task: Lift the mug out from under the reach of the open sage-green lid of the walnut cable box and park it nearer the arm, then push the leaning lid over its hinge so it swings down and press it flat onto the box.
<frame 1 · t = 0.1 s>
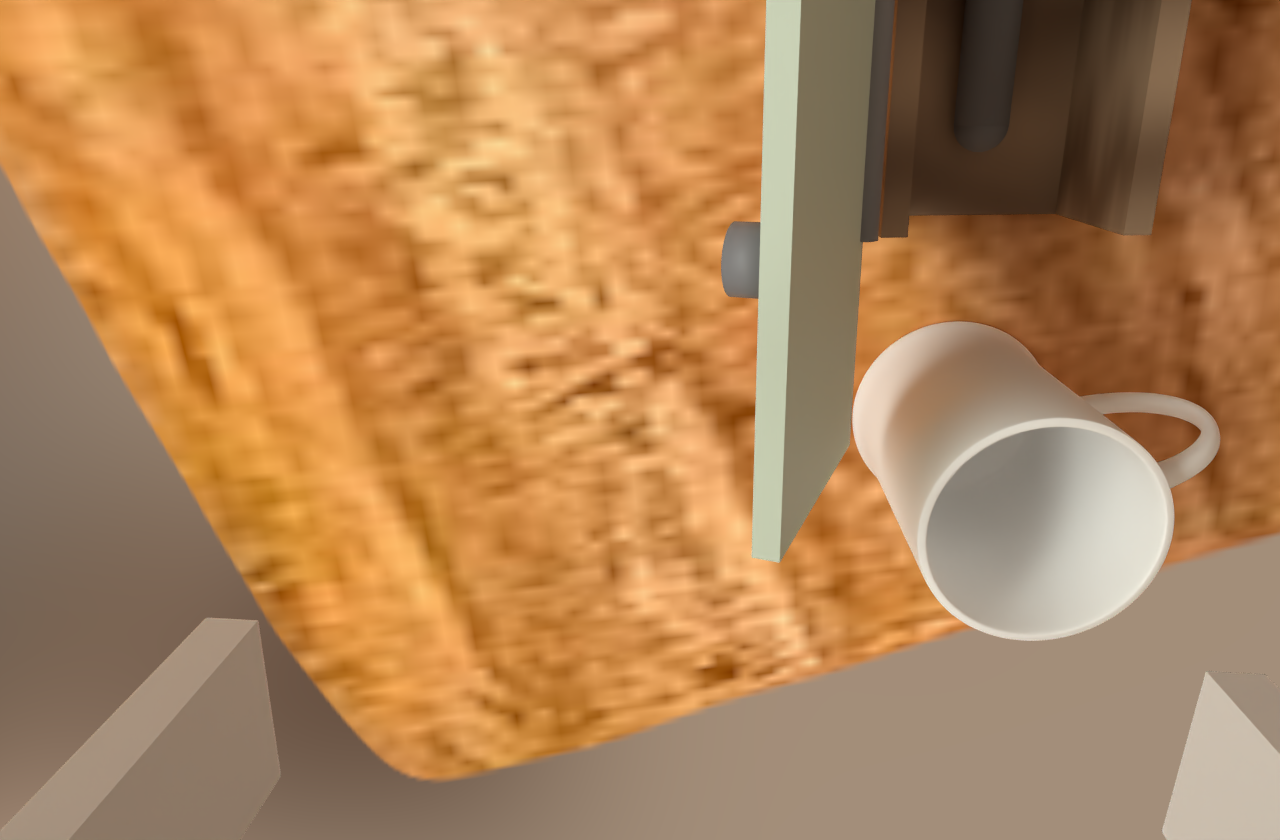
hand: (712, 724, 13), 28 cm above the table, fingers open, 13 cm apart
mug: (983, 404, 40), on the table
lid: (816, 91, 25), point 12 cm above the table, hinge at 110.0°
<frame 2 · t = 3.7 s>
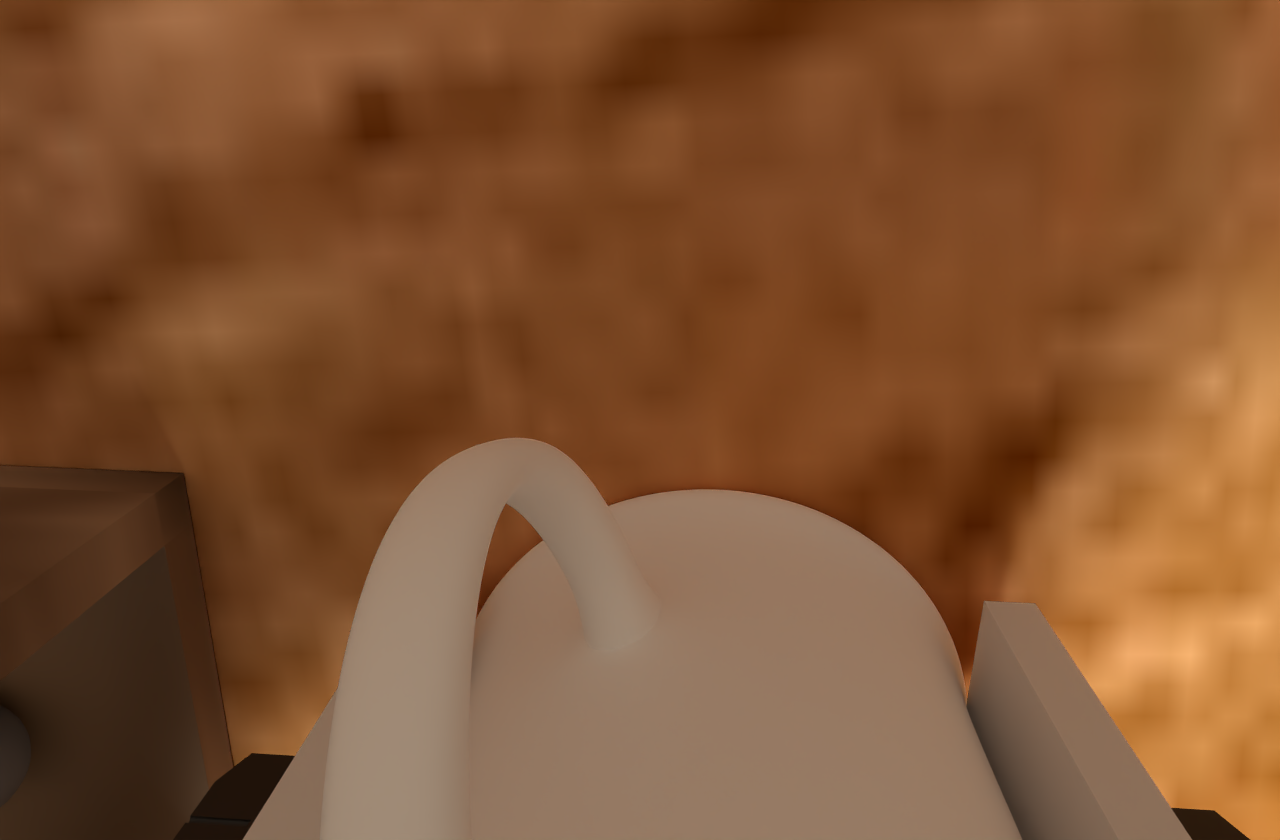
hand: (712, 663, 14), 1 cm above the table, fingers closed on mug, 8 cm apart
mug: (690, 624, 15), on the table, touching gripper
when the fingers open (3 cm above the table, at t = 9.1 s): mug drops 2 cm, on the table.
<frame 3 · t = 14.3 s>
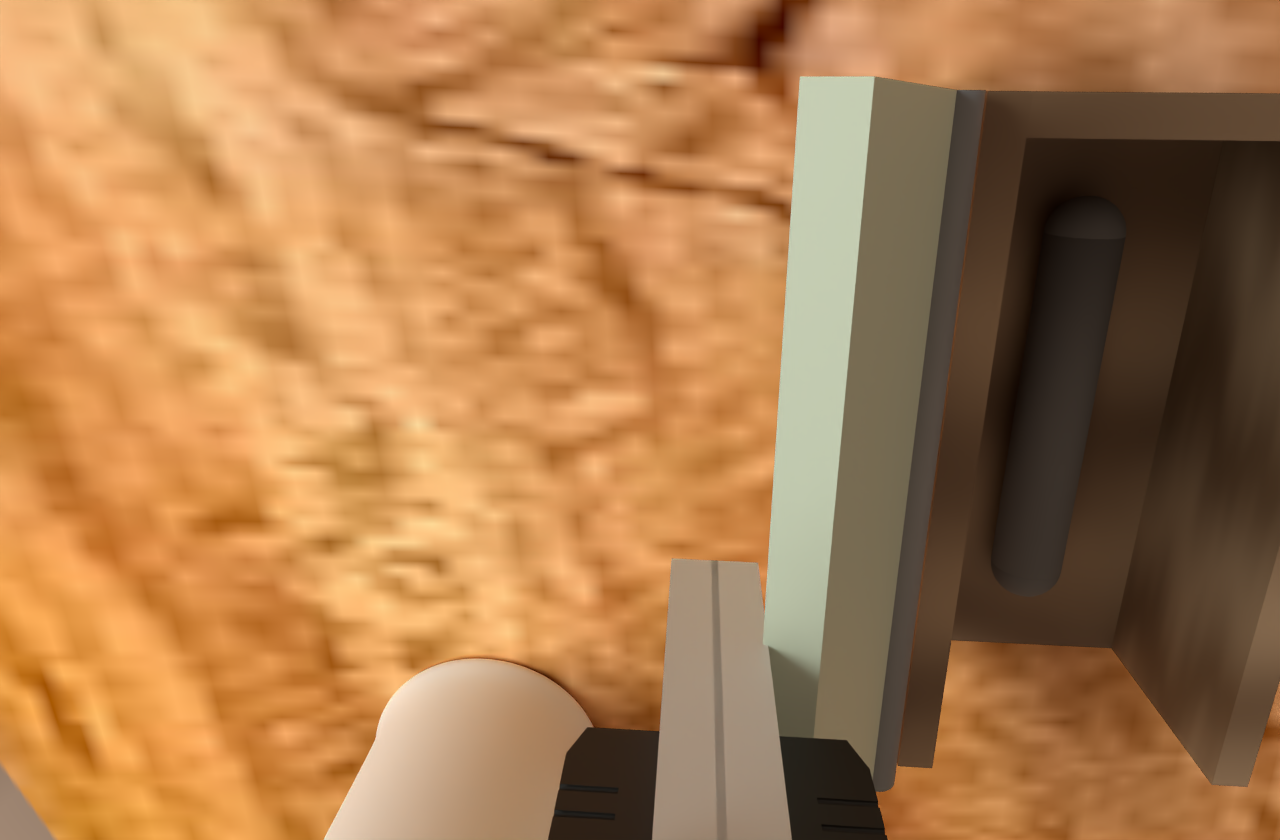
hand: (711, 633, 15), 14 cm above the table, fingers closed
mug: (532, 743, 33), on the table
lid: (821, 725, 18), point 12 cm above the table, hinge at 109.5°, touching gripper
dark grey rod: (1040, 398, 26), point 1 cm above the table, touching cable box
cable box: (1031, 390, 27), on the table
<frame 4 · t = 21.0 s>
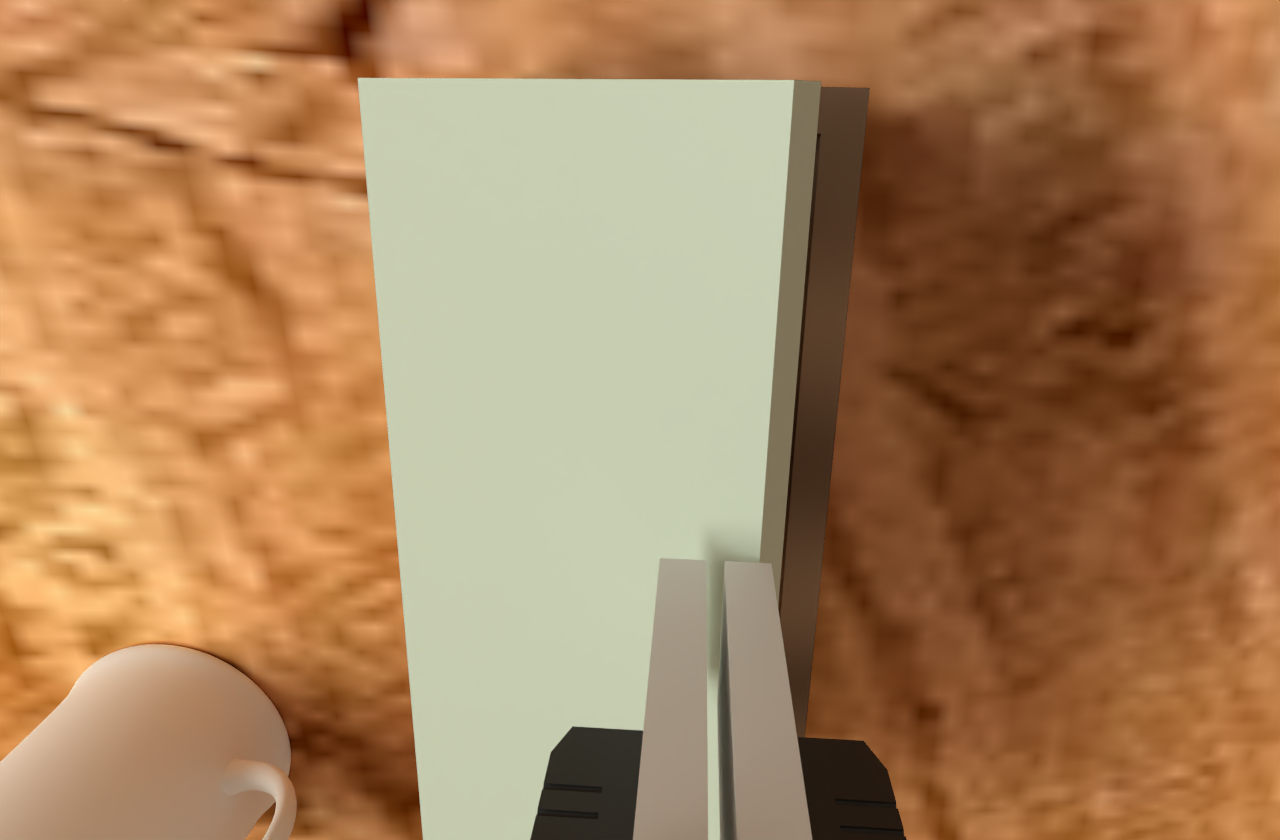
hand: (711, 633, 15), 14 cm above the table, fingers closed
mug: (224, 728, 34), on the table
lid: (541, 689, 19), point 11 cm above the table, hinge at 34.2°, touching gripper
cable box: (653, 377, 28), on the table
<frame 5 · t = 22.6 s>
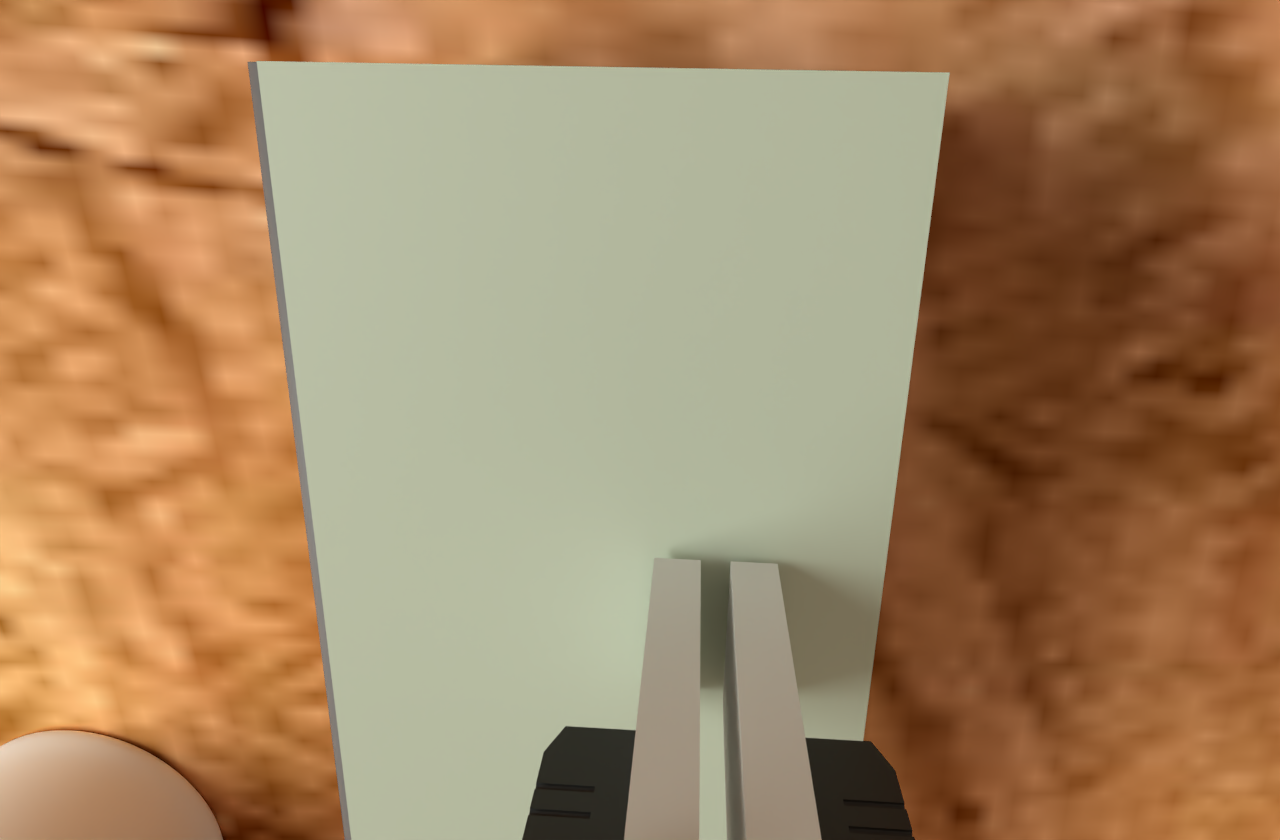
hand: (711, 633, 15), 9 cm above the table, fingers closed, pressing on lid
mug: (148, 823, 29), on the table
lid: (578, 776, 16), point 8 cm above the table, hinge at 2.8°, touching gripper
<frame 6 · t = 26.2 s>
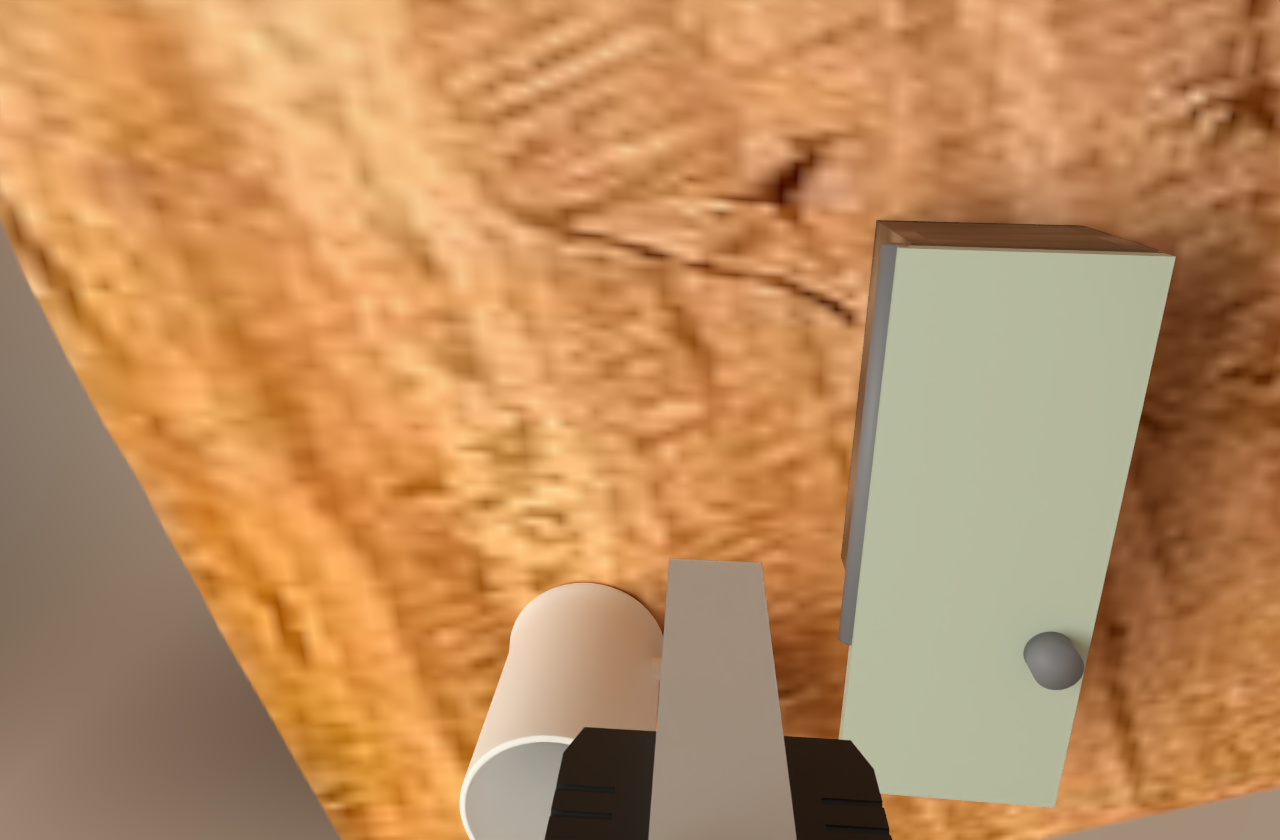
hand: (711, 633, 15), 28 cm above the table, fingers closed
mug: (617, 643, 48), on the table
lid: (978, 556, 36), point 8 cm above the table, hinge at 1.4°
cable box: (952, 403, 42), on the table
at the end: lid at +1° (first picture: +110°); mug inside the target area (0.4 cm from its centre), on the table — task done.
